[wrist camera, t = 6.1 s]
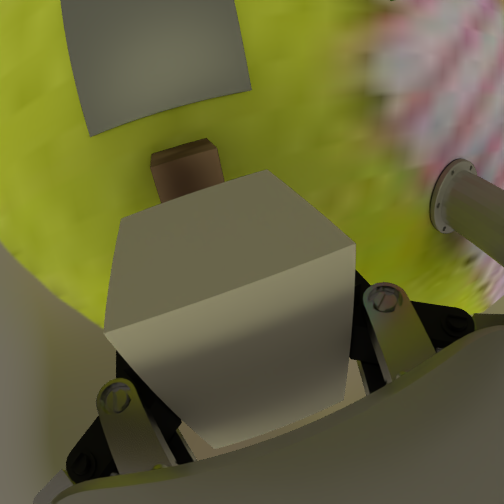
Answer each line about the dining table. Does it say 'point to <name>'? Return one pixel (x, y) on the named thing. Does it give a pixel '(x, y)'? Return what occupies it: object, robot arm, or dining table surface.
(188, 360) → the cream brick
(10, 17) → the dining table surface
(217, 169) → the walnut cube
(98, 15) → the base plate
